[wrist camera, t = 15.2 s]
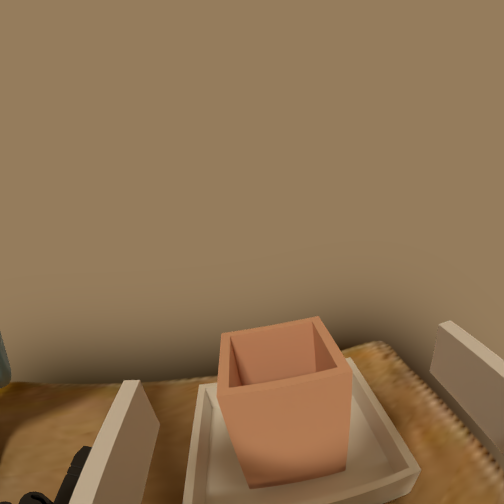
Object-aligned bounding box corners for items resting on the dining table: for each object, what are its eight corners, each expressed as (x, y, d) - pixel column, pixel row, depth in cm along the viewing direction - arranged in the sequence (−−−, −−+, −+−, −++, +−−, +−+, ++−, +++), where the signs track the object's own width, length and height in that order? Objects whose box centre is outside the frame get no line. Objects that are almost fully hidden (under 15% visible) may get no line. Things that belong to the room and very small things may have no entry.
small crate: (249, 489, 20) (216, 396, 17) (245, 427, 28) (221, 333, 26) (345, 470, 20) (352, 370, 17) (323, 412, 29) (318, 315, 26)
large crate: (197, 534, 15) (180, 517, 14) (208, 409, 34) (199, 384, 33) (409, 492, 15) (421, 469, 14) (350, 383, 34) (350, 357, 33)
